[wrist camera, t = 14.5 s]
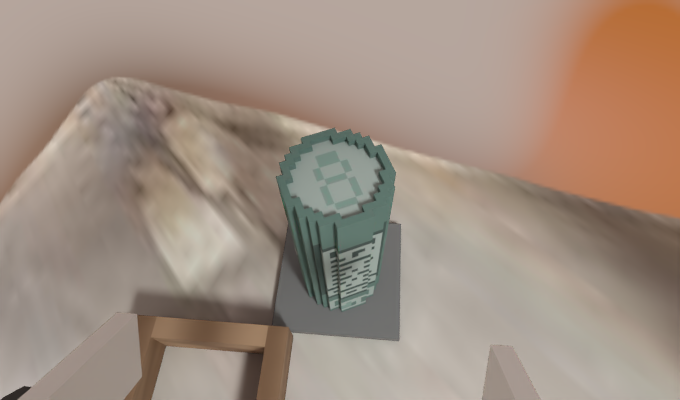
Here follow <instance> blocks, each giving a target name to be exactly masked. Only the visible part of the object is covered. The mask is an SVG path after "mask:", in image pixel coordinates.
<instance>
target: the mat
mask: <svg viewBox="0 0 680 400" xmlns="http://www.w3.org/2000/svg"><path fill="white" fill-rule="evenodd" d="M400 253H401V224H394V223H389V225H388V230H387V236H386V242H385V248H384V253H383V259H382V265H381V270H380V276H379V282H378V283H377V284H376V289H375V290H374V291H373V296H370V297H367V298H366V303H365V304H363V305H360V306H357V307H354V308H352V309H349V310H346V311H343V312H342V311H341V309H340V308H337V309H334V310H332V311H330V308H329V306H328V307H325V308H324V306H323V303H322V304H319V305H318V304H317V301H316V298H315V296H312V297H310V296H309V293H308V290H307V287H306V284H305V282H304V279H303V276H302V272H301V268H300V264H299V261H298V257H297V253H296V250H295V246H294V242H293V238H292V235H291V231H290V227H289V223H288V229H287V235H286V241H285V247H284V254H283V260H282V266H281V272H280V279H279V285H278V291H277V297H276V304H275V310H274V316H273V322H272V326H282V327H289V329H290V331H291V332H293V333H306V334H318V335H330V336H343V337H355V338H367V339H380V340H392V341H399V329H400Z"/></svg>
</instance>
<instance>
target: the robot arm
mask: <svg viewBox="0 0 680 400" xmlns="http://www.w3.org/2000/svg"><path fill="white" fill-rule="evenodd" d="M141 377H142V369H141V357H140V345H139V332H138V320H137V314H132V313H121V312H117V313H116V314H115V315H114V316H113V317H111V318H110V319H109V320H108V321H107V322H106V323H105V324H103V325H102V326H101V327H100V328H99V329H98V330H97V331H95V332H94V333H93V334H92V335H91V336H90V337H89V338H87V339H86V340H85V341H84V342H83V343H82V344H81V345H79V346H78V347H77V348H76V349H75V350H74V351H73V352H71V353H70V354H69V355H68V356H67V357H66V358H65V359H63V360H62V361H61V362H60V363H59V364H58V365H57V366H55V367H54V368H53V369H52V370H51V371H50V372H49V373H47V374H46V375H45V376H44V377H43V378H42V379H41V380H39V381H38V382H37V383H36V384H35V385H34V386H33V387H26V386H23V387H22V388H20V389H18V390H16V391H14V392H12V393H11V394H9V395H7V396H5V397H3V398H2V399H1V400H124V399H125V397H126V396H127V395H128V394H129V392H130V391H131V390H132V389H133V387H134V386H135V385H136V384H137V382H138V381H139V380H140V379H141ZM482 400H541V399H540V397H539V395H538V394H537V392H536V390H535V388H534V386H533V384H532V382H531V380H530V378H529V377H528V375H527V373H526V371H525V369H524V367H523V365H522V363H521V361H520V360H519V358H518V356H517V354H516V352H515V350H514V348H513V346H502V345H491V346H490V352H489V359H488V365H487V371H486V378H485V384H484V390H483V397H482Z"/></svg>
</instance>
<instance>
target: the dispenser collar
mask: <svg viewBox="0 0 680 400" xmlns="http://www.w3.org/2000/svg"><path fill="white" fill-rule="evenodd" d="M137 320H138V332H139V345H140V357H141V369H142V377H141V379H140V380H139V381H138V382H137V384H136V385H135V386H134V387H133V389H132V390H131V391H130V392H129V394H128V395H127V396H126V397H125V399H124V400H151V398H152V395H153V391H154V388H155V384H156V380H157V377H158V373H159V369H160V366H161V362H162V359H163V355H164V351H165V348H166V346H175V347H187V348H199V349H211V350H223V351H235V352H247V353H258V354H264V355H263V361H262V367H261V373H260V379H259V385H258V392H257V398H256V400H285V394H286V386H287V379H288V372H289V364H290V357H291V349H292V342H293V335H292V333H291V331H290V329H289V327H282V326H269V325H257V324H244V323H232V322H219V321H207V320H194V319H182V318H169V317H157V316H144V315H137Z"/></svg>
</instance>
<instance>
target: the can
mask: <svg viewBox="0 0 680 400" xmlns="http://www.w3.org/2000/svg"><path fill="white" fill-rule="evenodd" d="M301 142H302V144H299V145H295V146H292V147H289V149H290V153H289V154H286V155H284V156H285V161H283V162H280V163H279V164H280V169H281V173H282V175H280V176H276V179H277V182H278V186H279V190H280V194H281V197H282V201H283V205H284V209H285V212H286V216H287V220H288V223H289V227H290V231H291V235H292V238H293V242H294V246H295V250H296V253H297V257H298V261H299V264H300V268H301V272H302V276H303V279H304V282H305V284H306V287H307V290H308V293H309V296H310V297H312V296H315V298H316V301H317V304H318V305H319V304H322V303H323V306H324V308H325V307H328V306H329V308H330V311H332V310H334V309H337V308H340V309H341V311H342V312H343V311H346V310H349V309H352V308H354V307H357V306H360V305H363V304H365V303H366V298H367V297H370V296H373V291H374V290H375V289H376V284H377V283H378V282H379V276H380V270H381V265H382V259H383V253H384V248H385V242H386V236H387V230H388V225H389V219H390V213H391V208H392V202H393V196H394V191H395V186H394V181H395V176H396V172H395V170H394V168H393V166H392V164H391V162H390V160H389V158H388V156H387V154H386V153H385V151H384V149H383V147H382V145H378V146H374V144H373V142H372V140H371V139H370V137H369V136H366V137H363V138H362V136H361V134H360V133H356V134H353V133H352V131H351V130H350V129H349V130H346V131H343V132H339V133H337V132H336V130H335V128H333V129H329V130H326V131H322V132H319V133H316V134H312V135H309V136H305V137H302V138H301Z"/></svg>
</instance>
